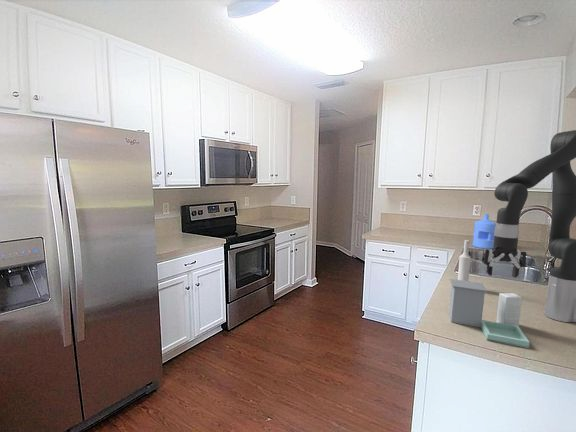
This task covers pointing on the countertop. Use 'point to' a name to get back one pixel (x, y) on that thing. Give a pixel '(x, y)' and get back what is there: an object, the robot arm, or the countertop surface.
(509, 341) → the tray
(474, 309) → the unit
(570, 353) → the countertop surface
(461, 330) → the countertop surface
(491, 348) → the countertop surface
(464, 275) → the bottle
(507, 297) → the skincare box
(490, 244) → the water jug
